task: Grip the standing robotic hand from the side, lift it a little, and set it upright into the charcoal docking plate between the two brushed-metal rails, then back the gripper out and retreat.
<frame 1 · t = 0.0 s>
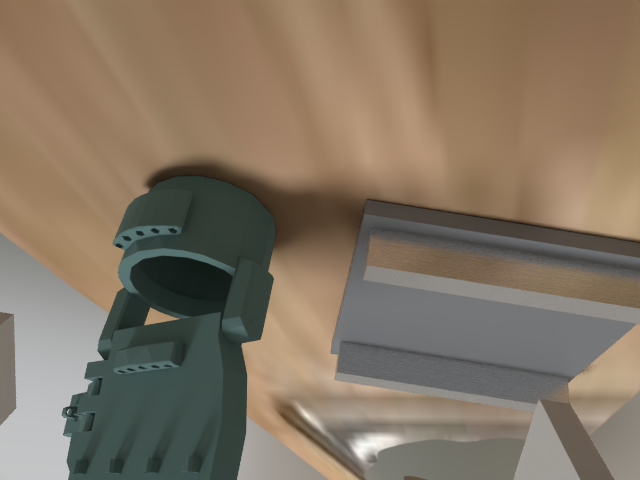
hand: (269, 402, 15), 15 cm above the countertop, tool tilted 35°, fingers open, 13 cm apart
robotic hand: (192, 222, 36), on the countertop
rail dock: (480, 305, 39), on the countertop
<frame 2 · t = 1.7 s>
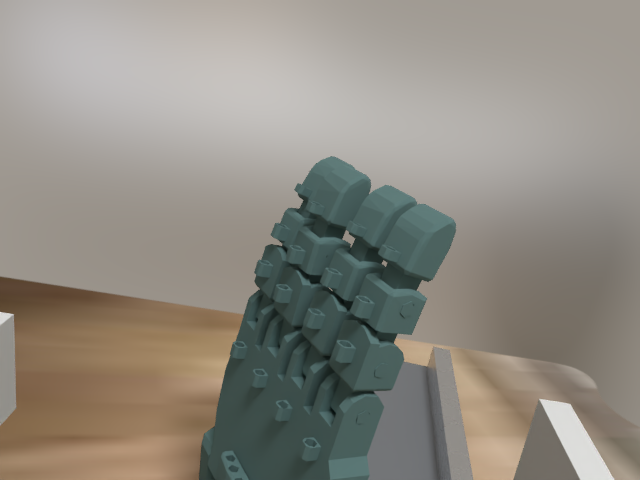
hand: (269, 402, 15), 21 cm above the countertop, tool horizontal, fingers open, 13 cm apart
rail dock: (349, 422, 47), on the countertop
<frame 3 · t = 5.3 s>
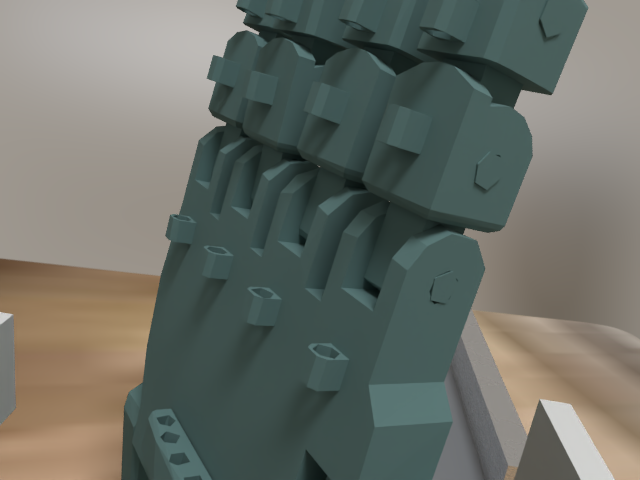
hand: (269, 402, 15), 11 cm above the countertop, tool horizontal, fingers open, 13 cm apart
rail dock: (347, 397, 35), on the countertop
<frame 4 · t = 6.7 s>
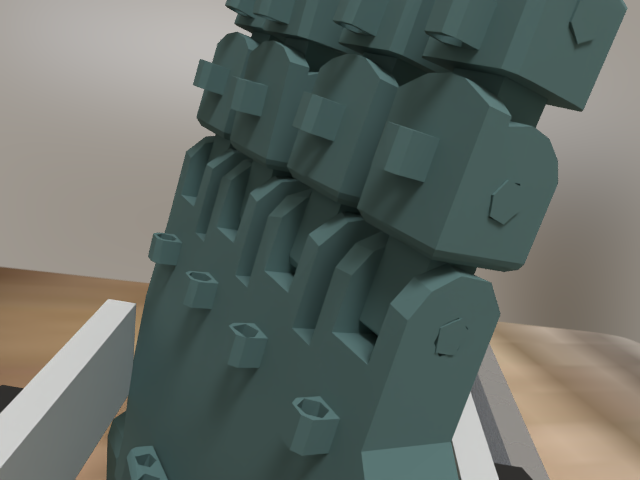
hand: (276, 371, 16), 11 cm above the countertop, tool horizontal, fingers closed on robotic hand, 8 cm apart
rail dock: (351, 414, 33), on the countertop
when the fingers open (13 cm above the countertop, at t = 14.3 s): robotic hand drops 1 cm, resting on rail dock.
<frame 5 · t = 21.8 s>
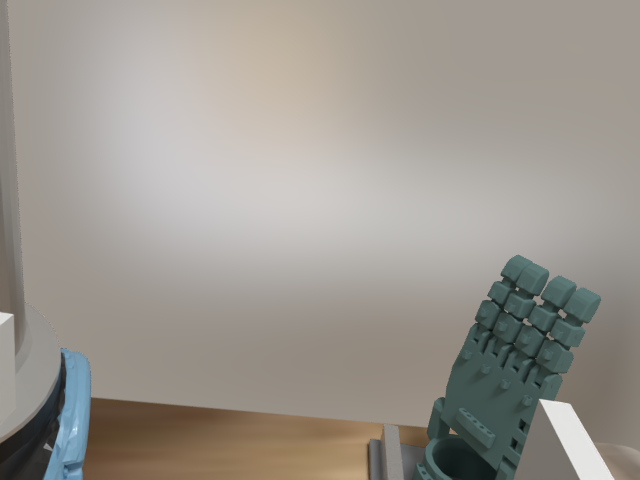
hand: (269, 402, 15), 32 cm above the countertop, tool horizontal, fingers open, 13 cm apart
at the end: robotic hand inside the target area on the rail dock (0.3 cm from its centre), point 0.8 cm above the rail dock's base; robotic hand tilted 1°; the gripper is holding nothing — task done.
